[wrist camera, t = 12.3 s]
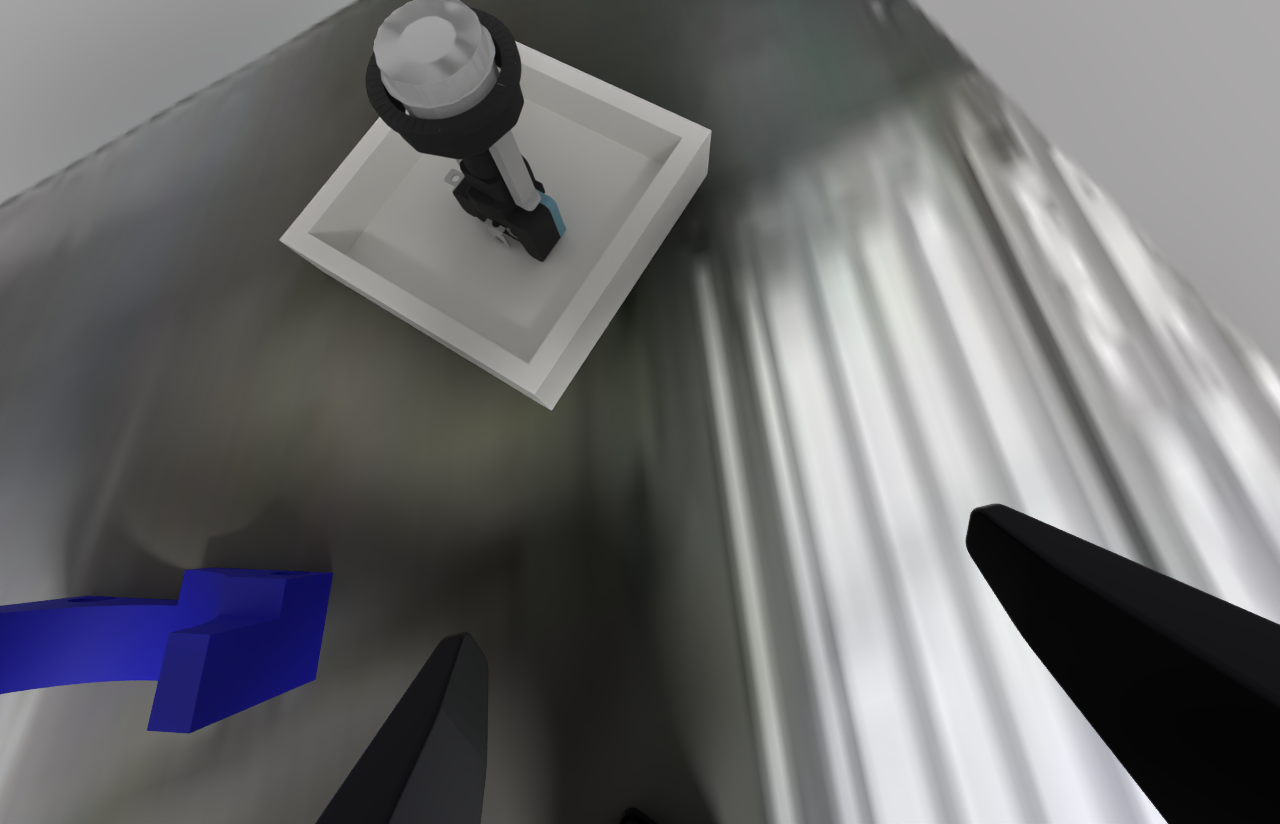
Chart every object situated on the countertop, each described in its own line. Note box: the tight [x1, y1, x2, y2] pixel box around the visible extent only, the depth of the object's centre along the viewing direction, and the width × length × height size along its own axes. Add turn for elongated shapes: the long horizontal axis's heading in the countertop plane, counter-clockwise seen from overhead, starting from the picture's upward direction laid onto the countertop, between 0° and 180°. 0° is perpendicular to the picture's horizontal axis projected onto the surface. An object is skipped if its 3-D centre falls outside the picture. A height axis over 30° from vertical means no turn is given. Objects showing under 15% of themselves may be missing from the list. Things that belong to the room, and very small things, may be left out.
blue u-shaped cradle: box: [0, 568, 333, 733], centre depth 20 cm, size 12×4×6 cm, turn 88°
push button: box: [366, 0, 566, 262], centre depth 21 cm, size 7×5×10 cm
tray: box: [279, 41, 711, 411], centre depth 25 cm, size 15×15×3 cm
